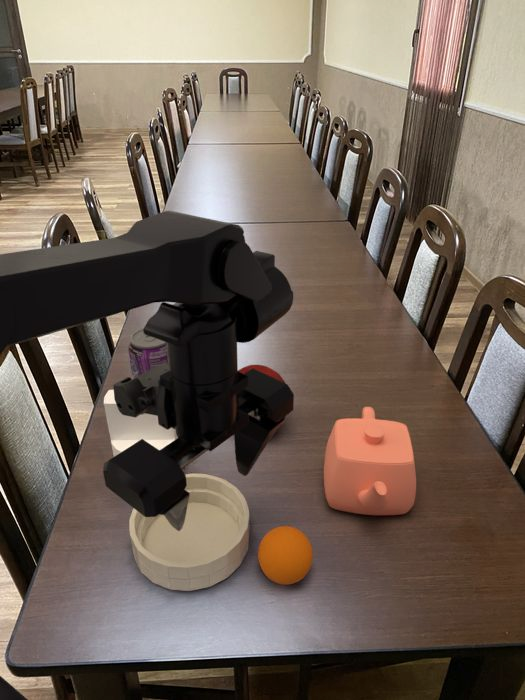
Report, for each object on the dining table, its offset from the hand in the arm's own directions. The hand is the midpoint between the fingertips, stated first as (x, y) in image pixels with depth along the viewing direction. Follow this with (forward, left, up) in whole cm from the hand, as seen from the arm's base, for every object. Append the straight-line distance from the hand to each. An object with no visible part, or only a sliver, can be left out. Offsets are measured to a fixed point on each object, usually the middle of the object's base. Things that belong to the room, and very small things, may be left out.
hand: (211, 498), depth 53 cm
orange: (+6, -5, -13) cm, 15 cm away
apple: (+23, +14, -13) cm, 30 cm away
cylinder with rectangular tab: (+7, +20, -13) cm, 25 cm away
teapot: (+22, -6, -13) cm, 26 cm away
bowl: (+2, +6, -13) cm, 14 cm away
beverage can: (+18, +31, -13) cm, 38 cm away
